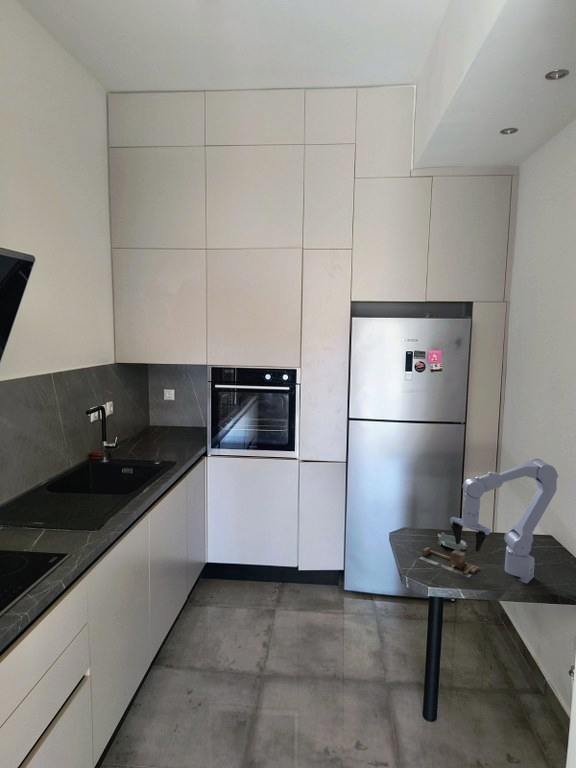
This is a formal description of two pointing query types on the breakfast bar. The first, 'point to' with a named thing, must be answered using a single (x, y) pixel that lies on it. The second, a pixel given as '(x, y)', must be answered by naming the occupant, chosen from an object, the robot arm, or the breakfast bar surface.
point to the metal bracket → (450, 542)
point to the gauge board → (467, 569)
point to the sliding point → (457, 559)
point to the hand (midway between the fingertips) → (467, 547)
